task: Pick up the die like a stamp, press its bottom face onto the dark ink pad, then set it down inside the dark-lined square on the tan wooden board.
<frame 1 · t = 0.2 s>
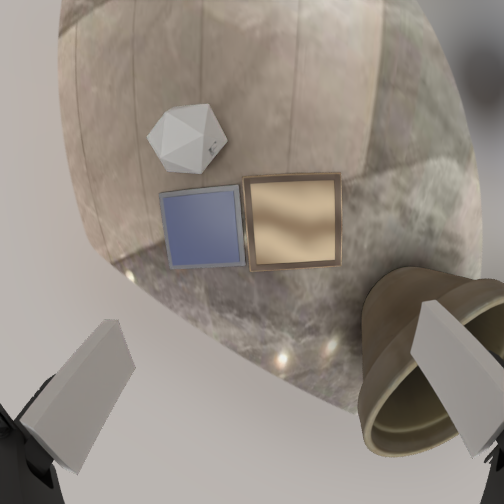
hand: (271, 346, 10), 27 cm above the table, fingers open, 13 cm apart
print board: (294, 222, 36), on the table
die: (194, 141, 34), on the table
plant pot: (398, 307, 40), on the table
ink pad: (202, 228, 37), on the table
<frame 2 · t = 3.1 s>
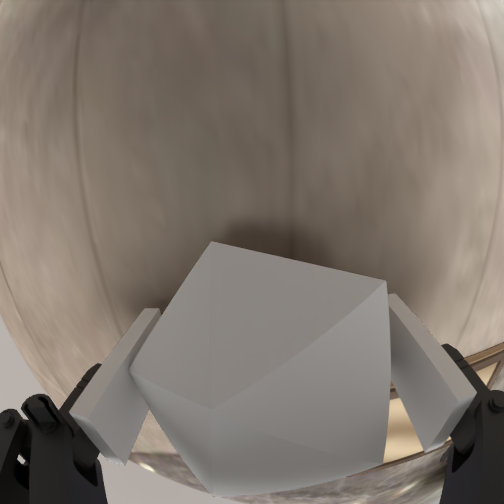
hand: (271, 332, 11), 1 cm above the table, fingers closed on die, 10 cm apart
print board: (426, 419, 15), on the table
die: (270, 315, 13), on the table, touching gripper
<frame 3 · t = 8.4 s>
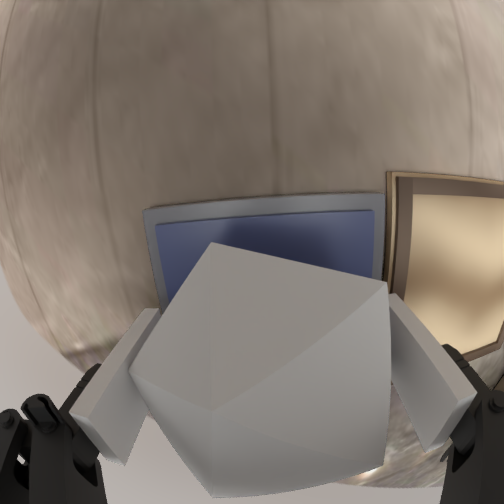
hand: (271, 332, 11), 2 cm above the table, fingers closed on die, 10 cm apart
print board: (466, 283, 13), on the table
die: (271, 316, 13), point 1 cm above the table, touching gripper, ink pad
ink pad: (270, 306, 14), on the table
when the fingers open (3 cm above the table, at t = 13.8 s): die drops 1 cm, resting on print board.
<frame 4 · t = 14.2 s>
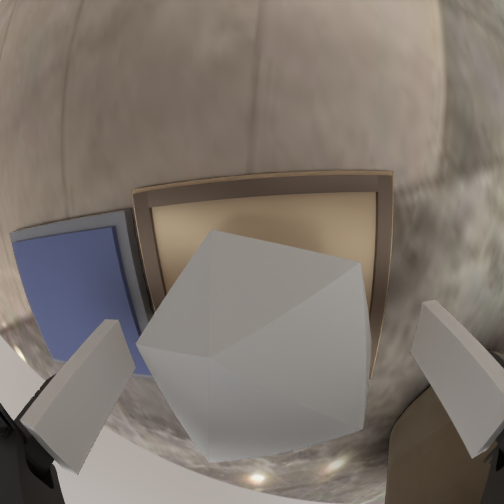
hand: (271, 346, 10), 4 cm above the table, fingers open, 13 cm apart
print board: (270, 298, 14), on the table
die: (264, 300, 14), resting on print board
plant pot: (448, 407, 18), on the table
ink pad: (80, 301, 15), on the table
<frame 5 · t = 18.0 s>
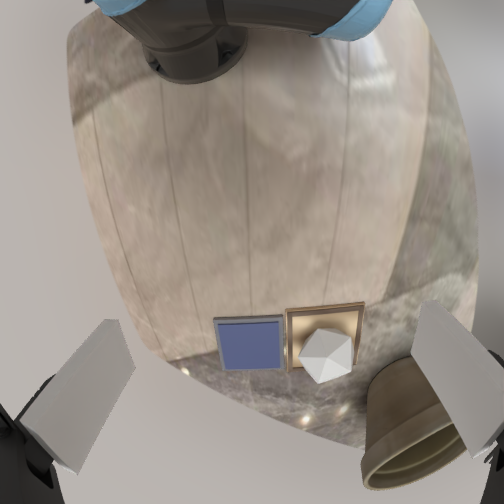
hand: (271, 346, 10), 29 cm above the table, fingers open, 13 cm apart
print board: (324, 338, 43), on the table
die: (322, 339, 43), resting on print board
plant pot: (396, 382, 47), on the table
ink pad: (250, 343, 44), on the table
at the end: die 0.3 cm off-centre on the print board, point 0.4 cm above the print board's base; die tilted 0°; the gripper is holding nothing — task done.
